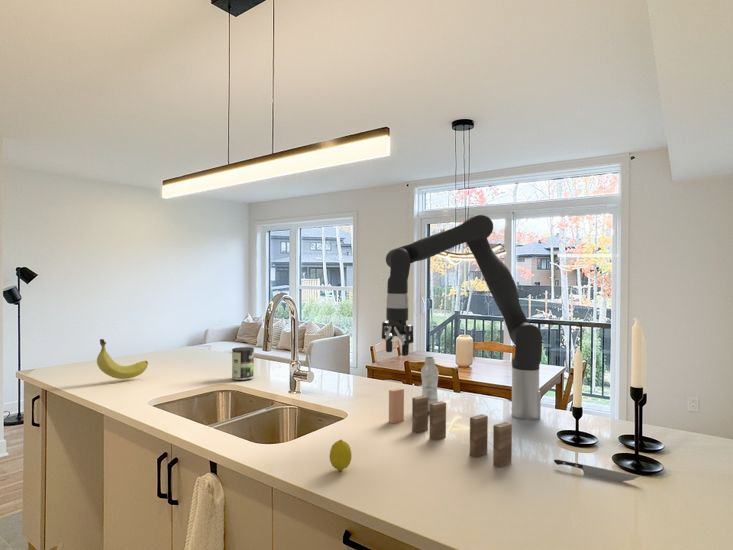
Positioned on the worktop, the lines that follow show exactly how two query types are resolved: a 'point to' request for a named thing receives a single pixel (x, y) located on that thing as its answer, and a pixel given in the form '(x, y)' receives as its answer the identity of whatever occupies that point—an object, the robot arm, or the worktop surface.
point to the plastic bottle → (429, 380)
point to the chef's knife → (600, 471)
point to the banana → (118, 366)
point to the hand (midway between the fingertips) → (396, 353)
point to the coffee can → (242, 363)
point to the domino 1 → (396, 405)
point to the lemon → (340, 455)
